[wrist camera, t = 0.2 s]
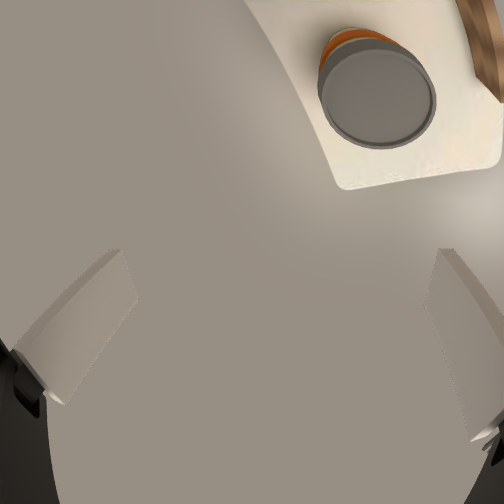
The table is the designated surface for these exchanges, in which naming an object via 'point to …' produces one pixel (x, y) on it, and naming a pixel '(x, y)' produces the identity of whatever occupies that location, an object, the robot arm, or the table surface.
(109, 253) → the robot arm
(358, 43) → the reusable coffee cup
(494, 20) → the board
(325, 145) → the table surface
